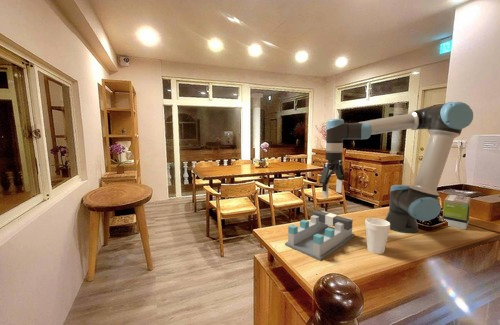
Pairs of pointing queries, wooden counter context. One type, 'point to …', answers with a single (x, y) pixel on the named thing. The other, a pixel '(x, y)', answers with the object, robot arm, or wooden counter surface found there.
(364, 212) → the wooden counter surface
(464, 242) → the wooden counter surface
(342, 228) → the grey peg rack
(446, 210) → the tea box
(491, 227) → the wooden counter surface
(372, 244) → the foam cup
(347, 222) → the grey banded pillar
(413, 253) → the wooden counter surface
